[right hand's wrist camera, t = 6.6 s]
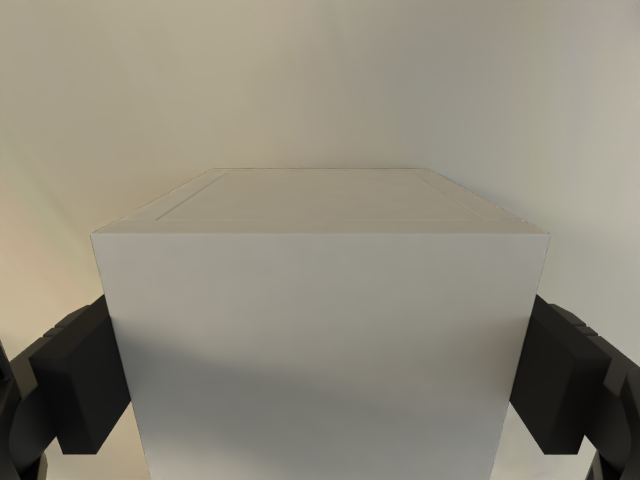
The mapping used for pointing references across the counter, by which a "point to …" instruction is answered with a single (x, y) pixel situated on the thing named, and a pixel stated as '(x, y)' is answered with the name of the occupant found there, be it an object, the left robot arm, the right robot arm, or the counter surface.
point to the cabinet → (320, 324)
